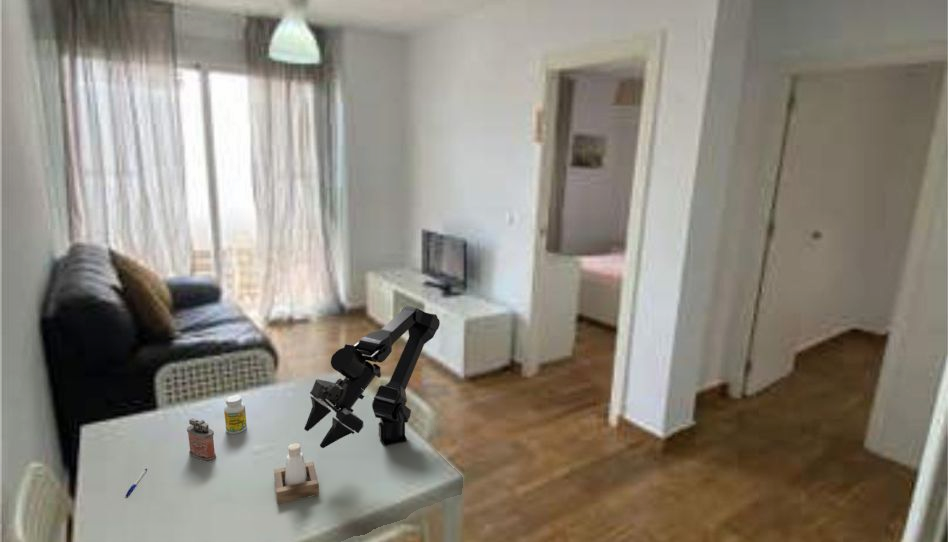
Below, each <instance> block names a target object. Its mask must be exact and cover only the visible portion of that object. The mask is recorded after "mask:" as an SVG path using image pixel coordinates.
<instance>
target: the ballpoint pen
mask: <svg viewBox="0 0 948 542" xmlns="http://www.w3.org/2000/svg"><path fill="white" fill-rule="evenodd" d="M147 471H148V468H145V469H144V470H143V471H142V473H141V474H140V475H139V477H138V478H137V479H136V481H135V482H134V484H132V485H131V486H130V488H129V489H128V490H127V492H126V494H125V498H128V497H129V496H130V495H131V494H132V493H133V491H134V489H135V488H136V487H137V485H138V484H139V482H140V481H141V480H142V478H143V477H144V476H145V474H146V472H147Z"/></svg>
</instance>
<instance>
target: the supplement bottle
mask: <svg viewBox="0 0 948 542" xmlns="http://www.w3.org/2000/svg"><path fill="white" fill-rule="evenodd" d="M225 404H226V405H225V406H224V409H223V411H224V420H225V431H226V432H227V434H233V435H235V434H240V433H242V432H243V431H245V430H246V429H247V427H248V426H247V424H248V423H247V417H246V416H247V413H246V405H245V403H243V399H242V396H241V395H238V394H237V395H230V396H229V397H226V399H225Z"/></svg>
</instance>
